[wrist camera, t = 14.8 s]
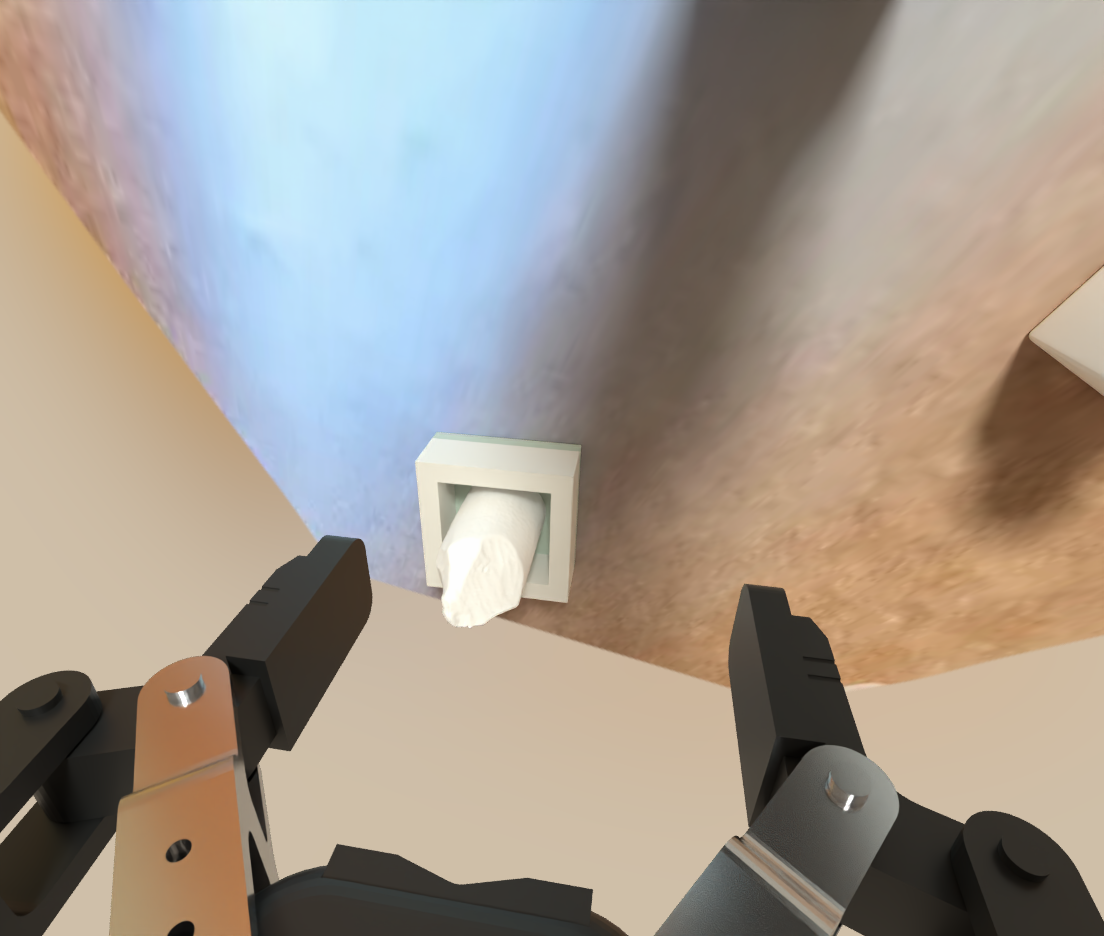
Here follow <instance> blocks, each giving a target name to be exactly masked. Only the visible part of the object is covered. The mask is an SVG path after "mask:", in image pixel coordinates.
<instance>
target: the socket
mask: <svg viewBox="0 0 1104 936" xmlns="http://www.w3.org/2000/svg"><path fill="white" fill-rule="evenodd" d="M580 461H581V445H575V444H564V443H553V442H542V441H531V440H520V439H509V438H498V437H487V436H476V435H465V434H454V433H443V432H436V434H435V435H434V436H433V438H432V439H431V441H430V442H429V443H428V445H427V446H426V447H425V449H424V450H423V451H422V453H421V454H420V456H419V457H418V458H417V460H416V461H415V465H416V475H417V486H418V496H419V507H420V517H421V527H422V538H423V548H424V559H425V569H426V579H427V586H432V587H441V588H443V586H442V583H441V580H440V576H439V573H438V570H437V567H436V560H437V555H438V553H439V550H440V547H441V545H442V543H443V541H444V538H445V536H446V534H447V532H448V530H449V528H450V526H451V524H452V522H453V520H454V518H455V516H456V514H457V512H458V511H459V509H460V507H461V505H462V503H463V502H464V500H465V498H466V496H467V494H468V493H469V491H470V489H471V487H472V486H481V487H491V488H501V489H510V490H520V491H530V492H538V493H539V494H540V496H541V497H542V499H543V501H544V504H545V507H546V517H545V521H544V524H543V527H542V530H541V533H540V536H539V539H538V543H537V547H536V550H535V553H534V556H533V560H532V563H531V567H530V571H529V574H528V577H527V581H526V584H525V587H524V590H523V594H522V597H523V598H531V599H539V600H547V601H555V602H564V603H568V598H569V593H570V588H571V582H572V577H573V572H574V567H575V555H576V536H577V517H578V499H579V480H580Z"/></svg>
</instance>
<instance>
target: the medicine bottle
mask: <svg viewBox="0 0 1104 936" xmlns="http://www.w3.org/2000/svg"><path fill="white" fill-rule="evenodd" d="M1029 338H1030V340H1031V341H1032V342H1033V343H1035V344H1036V345H1037V346H1039V347H1040V348H1041V349H1043V350H1044V351H1045V352H1047V353H1048V354H1049V355H1050V356H1052V357H1053V358H1054V359H1056V360H1057V361H1058V362H1060V363H1061V364H1062V365H1064V366H1065V367H1066V368H1067V369H1069V370H1070V371H1071V372H1073V373H1074V374H1075V375H1077V376H1078V377H1079V378H1081V379H1082V380H1083V381H1085V382H1086V383H1087V384H1088V385H1090V386H1091V387H1092V388H1094V389H1095V390H1096V391H1098V392H1099V393H1100V394H1102V395H1103V396H1104V266H1103V267H1102V268H1101V269H1100V270H1099V271H1097V272H1096V273H1095V274H1094V275H1093V276H1092V277H1091V278H1090V279H1089V280H1087V281H1086V282H1085V283H1084V284H1083V285H1082V286H1081V287H1080V288H1079V289H1077V290H1076V291H1075V292H1074V293H1073V294H1072V295H1071V296H1070V297H1069V298H1067V299H1066V300H1065V301H1064V302H1063V303H1062V304H1061V305H1060V306H1059V307H1058V308H1056V309H1055V310H1054V311H1053V312H1052V313H1051V314H1050V315H1049V316H1048V317H1046V318H1045V319H1044V320H1043V321H1042V322H1041V323H1040V324H1039V325H1038V326H1036V327H1035V328H1034V329H1033V330H1032V331H1031V332H1030V334H1029Z"/></svg>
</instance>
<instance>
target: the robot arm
mask: <svg viewBox="0 0 1104 936" xmlns="http://www.w3.org/2000/svg"><path fill="white" fill-rule="evenodd" d="M371 606H372V589H371V583H370V576H369V569H368V563H367V556H366V550H365V545H364V543H363V541H362V540H361V539H357V538H348V537H340V536H331V535H326V536H324V537H323V538H322V539H321V540H320V541H319V542H318V543H317V545H316V546H315V547H314V548H313V550H312V551H311V552H310V553H309V554H308V556H297V557H296V558H294V559H293V560H291V561H289V562H288V563H286V564H284V565H283V566H281V567H280V568H278V569H277V570H276V571H275V572H274V573H273V574H272V575H271V577H270V578H269V579H268V580H267V581H266V582H265V584H264V585H263V586H262V589H261V590H259V591H258V592H257V593H256V594H255V595H254V596H253V597H252V598H251V600H250V603H249V604H246V605H245V607H244V608H243V609H242V610H241V611H240V612H239V614H238V615H237V616H236V617H235V618H234V619H233V621H232V622H231V623H230V624H229V625H228V626H227V628H226V629H225V630H224V631H223V632H222V633H221V634H220V636H219V637H218V638H217V639H216V640H215V641H214V643H213V644H212V645H211V646H210V647H209V648H208V650H207V651H206V652H205V653H204V654H203V655H202V656H195V657H190V658H186V659H182V660H180V661H177V662H175V663H172V664H170V665H168V666H166V667H165V668H163V669H161V670H160V671H159V672H157V673H156V674H155V675H153V676H152V677H151V678H150V679H149V680H148V681H147V682H146V684H145V685H144V686H137V687H130V688H121V689H113V690H106V691H98V692H96V690H95V688H94V686H93V684H92V682H91V680H90V679H89V677H88V676H87V675H85V674H84V673H81V672H78V671H59V672H54V673H50V674H47V675H43V676H40V677H38V678H35V679H33V680H31V681H29V682H27V683H25V684H23V685H21V686H20V687H18V688H17V689H15V690H14V691H12V692H11V693H9V694H8V695H7V696H6V697H5V698H3V699H2V700H1V701H0V832H1V831H2V830H3V829H4V828H5V827H6V825H7V824H8V823H9V822H10V821H11V820H12V819H13V818H14V816H15V815H16V814H17V813H18V812H19V811H20V809H21V808H22V807H23V806H24V805H25V804H26V803H27V801H28V800H29V799H30V798H31V797H32V796H33V795H34V797H35V799H36V800H37V802H36V803H35V804H34V806H33V807H32V808H31V809H30V810H29V812H28V813H27V814H26V815H25V816H24V817H23V819H22V820H21V821H20V822H19V823H18V824H17V826H16V827H15V828H14V829H13V830H12V831H11V833H10V834H9V835H8V836H7V837H6V838H5V840H4V841H3V842H2V843H1V844H0V936H42V935H43V934H44V932H45V931H46V930H47V928H48V927H49V925H50V924H51V922H52V921H53V920H54V918H55V917H56V915H57V914H58V913H59V911H60V910H61V908H62V907H63V905H64V904H65V903H66V901H67V900H68V898H69V897H70V896H71V894H72V893H73V891H74V890H75V889H76V887H77V886H78V884H79V883H80V882H81V880H82V879H83V877H84V876H85V874H86V873H87V872H88V870H89V869H90V867H91V866H92V864H93V863H94V862H95V860H96V859H97V857H98V856H99V855H100V853H101V852H102V850H103V849H104V848H105V846H106V845H107V843H108V842H109V840H110V839H111V838H112V836H113V835H114V833H115V832H116V842H115V857H114V872H113V886H112V901H111V916H110V931H109V936H628V935H627V934H626V933H625V932H623V931H622V930H621V929H620V928H619V927H617V926H616V925H614V924H613V923H611V922H610V921H609V920H607V919H606V918H604V917H602V916H600V915H598V914H596V913H594V912H592V911H591V903H592V893H593V890H592V889H587V888H582V887H576V886H570V885H565V884H559V883H554V882H548V881H542V880H536V879H531V878H523V879H513V880H502V881H493V882H483V883H475V884H466V885H465V884H464V885H459V884H454V883H451V882H449V881H447V880H445V879H443V878H441V877H439V876H437V875H435V874H434V873H432V872H429V871H428V870H426V869H424V868H422V867H420V866H418V865H416V864H414V863H412V862H410V861H408V860H406V859H404V858H402V857H401V856H399V855H396V854H390V853H384V852H379V851H373V850H368V849H362V848H356V847H350V846H345V845H339V844H337V845H336V847H335V850H334V852H333V854H332V856H331V858H330V861H329V863H328V865H327V866H320V867H316V868H312V869H308V870H304V871H301V872H298V873H295V874H293V875H290V876H287V877H285V878H283V879H281V880H279V878H278V873H277V869H276V865H275V860H274V855H273V849H272V842H271V835H270V828H269V822H268V815H267V807H266V801H265V794H264V787H263V780H262V773H261V768H260V765H259V762H260V760H261V758H262V757H263V755H264V754H265V752H266V750H267V749H268V748H273V749H280V750H286V751H291V749H292V748H293V746H294V744H295V743H296V741H297V739H298V738H299V736H300V734H301V732H302V731H303V729H304V727H305V726H306V724H307V722H308V721H309V719H310V717H311V716H312V714H313V712H314V710H315V709H316V707H317V705H318V704H319V702H320V700H321V699H322V697H323V695H324V694H325V692H326V690H327V688H328V687H329V685H330V683H331V682H332V680H333V678H334V677H335V675H336V673H337V671H338V669H339V668H340V666H341V665H342V663H343V661H344V660H345V658H346V656H347V655H348V653H349V651H350V649H351V648H352V646H353V644H354V643H355V641H356V639H357V638H358V636H359V634H360V633H361V631H362V629H363V627H364V626H365V624H366V622H367V620H368V618H369V615H370V611H371ZM834 661H835V660H834V657H833V654H832V651H831V648H830V644H829V641H828V638H827V637H826V636H825V635H824V633H823V632H822V631H821V630H820V629H819V628H818V626H817V625H816V624H815V623H814V622H813V621H812V619H811V618H810V617H801V616H793V615H791V611H790V608H789V604H788V600H787V597H786V593H785V591H784V589H783V588H777V587H768V586H759V585H751V584H744V585H743V587H742V590H741V594H740V599H739V603H738V608H737V612H736V616H735V621H734V625H733V630H732V634H731V639H730V645H729V660H728V663H729V676H730V684H731V691H732V699H733V707H734V716H735V723H736V731H737V739H738V747H739V754H740V762H741V771H742V778H743V786H744V794H745V802H746V810H747V818H748V825H749V827H750V828H749V829H748V831H747V832H746V833H745V834H744V835H743V836H742V837H741V838H739V837H738V836H734V837H732V838H731V839H730V840H729V841H728V842H727V843H726V844H725V845H724V846H723V848H722V849H721V850H720V852H719V853H718V854H717V855H716V857H715V858H714V859H713V860H712V862H711V863H710V864H709V866H708V867H707V868H706V869H705V871H704V872H703V873H702V875H701V876H700V877H699V878H698V880H697V881H696V882H695V884H694V885H693V886H692V887H691V889H690V890H689V891H688V893H687V894H686V895H685V897H684V898H683V899H682V901H681V902H680V903H679V904H678V905H677V907H676V908H675V909H674V911H673V912H672V913H671V914H670V916H669V917H668V918H667V920H666V921H665V922H664V923H663V925H662V926H661V927H660V928H659V930H658V931H657V932H656V934H655V935H654V936H837V934H838V933H839V931H840V929H841V927H842V925H845V926H847V927H849V928H851V929H853V930H855V931H856V932H858V933H860V934H862V935H864V936H1104V921H1103V919H1102V917H1101V915H1100V913H1099V911H1098V909H1097V907H1096V905H1095V903H1094V901H1093V899H1092V897H1091V895H1090V893H1089V891H1088V890H1087V888H1086V885H1085V883H1084V881H1083V879H1082V878H1081V876H1080V873H1079V872H1078V870H1077V868H1076V866H1075V865H1074V863H1073V862H1072V861H1071V859H1070V858H1069V856H1068V855H1067V854H1066V853H1065V852H1064V851H1063V849H1061V847H1060V846H1059V845H1058V844H1057V843H1056V842H1055V841H1053V840H1052V839H1051V838H1050V837H1049V836H1048V835H1046V834H1045V833H1043V832H1042V831H1041V830H1040V829H1038V828H1036V827H1035V826H1033V825H1032V824H1030V823H1028V822H1026V821H1024V820H1022V819H1020V818H1018V817H1015V816H1012V815H1010V814H1006V813H1002V812H997V811H983V812H978V813H976V814H974V815H972V816H971V817H970V818H969V819H968V820H967V821H966V823H965V824H963V823H960V822H958V821H956V820H953V819H951V818H949V817H946V816H944V815H942V814H939V813H937V812H935V811H932V810H930V809H928V808H925V807H923V806H921V805H919V804H916V803H914V802H912V801H910V800H908V799H907V798H905V797H904V796H902V795H901V794H899V793H898V792H897V791H896V790H895V788H894V786H893V784H892V782H891V781H890V779H889V778H888V776H887V775H886V774H885V773H884V772H883V771H882V769H880V767H879V766H877V765H876V764H875V763H874V762H873V761H871V760H870V759H868V758H867V756H866V754H865V751H864V748H863V745H862V742H861V739H860V736H859V733H858V730H857V727H856V724H855V721H854V718H853V715H852V712H851V709H850V705H849V702H848V699H847V696H846V693H845V690H844V687H843V684H842V683H841V682H840V679H841V678H840V675H839V672H838V669H837V666H836V665H835V664H834Z"/></svg>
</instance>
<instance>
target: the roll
mask: <svg viewBox="0 0 1104 936" xmlns="http://www.w3.org/2000/svg"><path fill="white" fill-rule="evenodd" d="M545 517H546V507H545V504H544V501H543V499H542V497H541V496H540V494H539V493H538V492H530V491H520V490H510V489H501V488H491V487H481V486H472V487H471V489H470V491H469V493H468V494H467V496H466V498H465V500H464V502H463V503H462V505H461V507H460V509H459V511H458V512H457V514H456V516H455V518H454V520H453V522H452V524H451V526H450V528H449V530H448V532H447V534H446V536H445V538H444V541H443V543H442V545H441V547H440V550H439V553H438V555H437V560H436V567H437V570H438V573H439V576H440V580H441V583H442V586H443V595H442V597H441V599H442V605H443V610H442V613H443V616H444V617H445V618H446V620H447V622H448V623H449V624H451V625H452V626H456V627H468V628H471V627H473V626H481V625H484V624H486V623H487V622H488V621H489V620H491V619H492V618H494V617H496V616H497V615H499V614H502V613H504V612H506V611H509V610H512V609H514V608H516V607H517V606H518V605H519V602H520V599H521V597H522V594H523V590H524V587H525V584H526V581H527V577H528V574H529V571H530V567H531V563H532V560H533V556H534V553H535V550H536V547H537V543H538V539H539V536H540V533H541V530H542V527H543V524H544V521H545Z"/></svg>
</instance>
